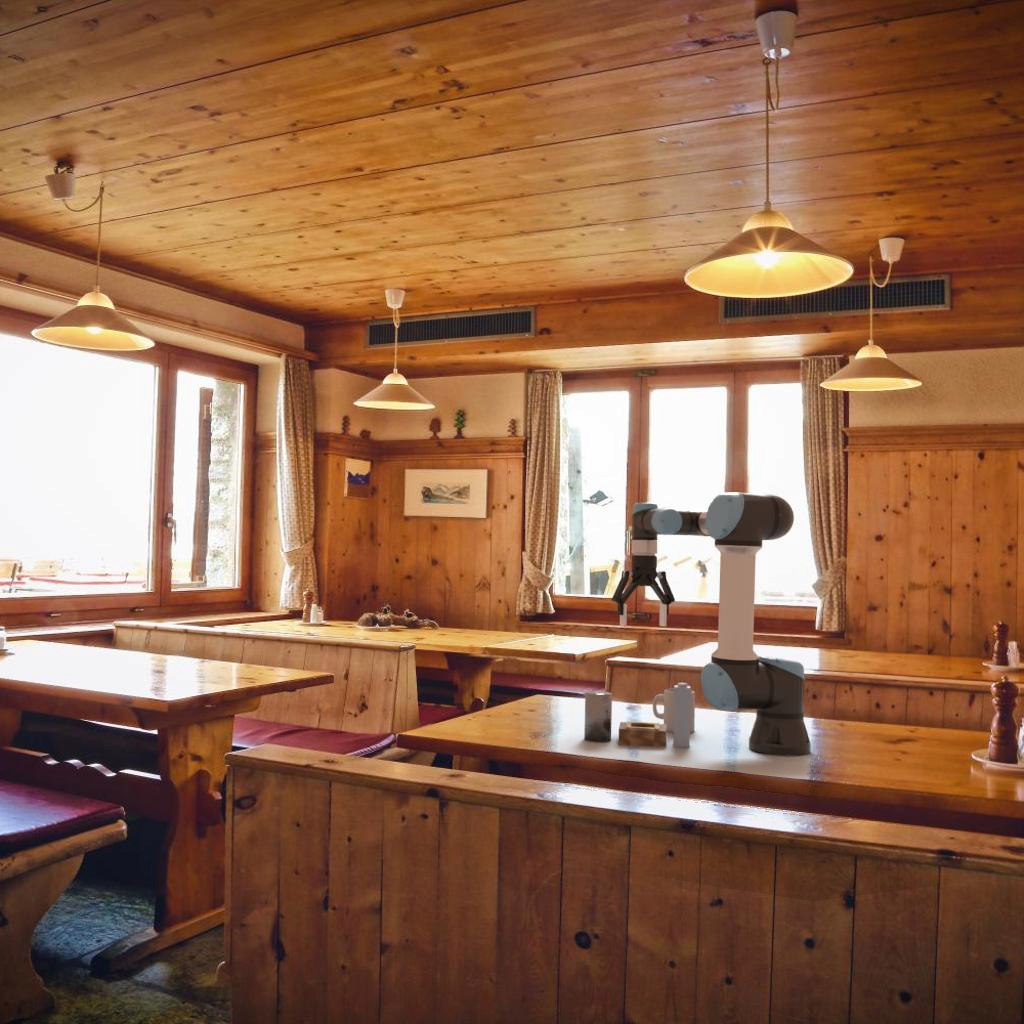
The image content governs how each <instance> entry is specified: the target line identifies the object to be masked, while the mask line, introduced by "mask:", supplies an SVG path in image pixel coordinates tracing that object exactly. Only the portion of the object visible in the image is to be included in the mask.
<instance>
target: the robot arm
mask: <svg viewBox="0 0 1024 1024" xmlns="http://www.w3.org/2000/svg"><path fill="white" fill-rule="evenodd" d="M658 506H659V505H658V504H657V503H655V502H654V503H653V502H636V503H634V504H633V506H632V514H631V553H632V554H633V555H632V556H631V571H630V570H622V572H621V578H620V580H619V582H618V585H617V587H615V590H614V591H615V592H614V593H613V595H612V598H611V602H614V603H616V605H617V615H619V627H623V628H624V627H625V628H627V618H628V617H627V616H628V614H627V611H628V604H627V603H626V602H627V601H628V599H629V598H630V596H631V595H632V594H633V592H635V590H636V589H637V588H638V587H650V588H651V589H652V590H653V592H654V593H655V595H656V596H657V598H658V599H659V601H660V602H661V603H660V604H659V621H658V622H659V626H660V627H667V616H668V615H669V614H670V613H669V612H670V610H669V609H670V607H669V606H670V605H671V604H672V603H674V602H675V601H676V599H675V597H674V595H673V592H672V589H671V587H670V584H669V582H668V579H667V572H666V571H665V570H663V571H662V570H659V571H657V567H658V556H657V555H656V554H658V535H661V536H662V535H664V536H670V535H671V536H696V537H697V536H699V537H710V538H712V539H713V540H714V547H715V548H716V549H717V551H719V553H720V558H719V559H720V561H719V562H720V563H719V564H720V565H719V567H720V568H719V595H718V597H719V599H718V626H717V627H718V629H717V630H718V631H717V647H716V650H715V651H713V652H712V653H711V658H710V659H711V661H710V662H709V663H706V665H704V666H703V669H702V670H701V675H700V684H701V689H702V693H703V695H704V697H705V699H706V701H707V702H708V704H709V705H710V706H711V707H712V708H714V709H715V710H718V711H730V712H735V711H748V710H749V711H750V710H756V712H755V713H756V716H755V720H754V723H753V726H752V729H751V733H750V736H749V739H748V748H749V749H750V750H752V751H754V752H758V753H763V754H766V755H767V754H768V755H774V756H775V755H776V756H804V755H807V754H808V755H809V754H810V753H811V751H812V750H811V749H812V748H811V747H812V745H811V741H810V738H809V733H808V730H807V727H806V724H805V718H804V717H805V710H804V709H805V707H804V706H805V681H806V679H805V668H804V666H803V664H802V663H801V662H799V661H795V660H791V659H784V658H776V657H770V656H763V655H758V654H757V653H756V652H755V651H754V630H755V629H754V628H755V626H754V625H755V595H756V593H755V591H756V589H755V588H756V558H757V557H756V556H757V553H758V552H759V551H760V550H761V549H762V548H763V541H773V540H778V539H781V538H783V537H784V536H786V535H788V533H789V532H790V531H791V529H792V527H793V525H794V522H795V515H794V511H793V508H792V507H791V505H790V504H789V502H788V501H787V500H786V499H784V498H783V497H781V496H778V495H775V494H767V493H765V494H764V493H763V494H762V493H750V492H749V493H747V492H736V491H734V492H723V493H720V494H718V495H716V496H715V497H714V498H713V500H712V501H711V502H710V503H709V505H708V508H707V509H679V508H671V507H662V508H659V507H658ZM630 578H632V579H631V581H630V582H629V580H630ZM656 579H658V581H659V583H658V581H657V580H656ZM628 582H629V583H628ZM627 584H629V585H627ZM659 585H660V586H661V587H660V586H659ZM625 603H626V604H625Z"/></svg>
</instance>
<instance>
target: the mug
mask: <svg viewBox="0 0 1024 1024" xmlns="http://www.w3.org/2000/svg"><path fill="white" fill-rule="evenodd" d="M695 699H696V691H694V690H693V689H690V734H691V733H694V732H695V723H696V722H695V721H696V720H695V717H696V716H695V714H696V713H695V709H696V706H695V705H696V704H695V702H696V700H695ZM659 700H660V701H663V712H662V713H660V712H658V709H657V704H658V701H659ZM652 712H653V713H652V714H653V715H654V717H655V718H657V719H660V720H663V724H666V732H668V733H674V688H666V689H664V691H663V693H661V694H657V695H655V696H654V698H653V701H652Z"/></svg>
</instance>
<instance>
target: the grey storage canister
mask: <svg viewBox="0 0 1024 1024" xmlns="http://www.w3.org/2000/svg"><path fill="white" fill-rule="evenodd" d="M584 694H585V695H584V736H583V737H584V738H583V739H584V740H585V741H586V742H591V743H592V742H593V743H608V742H611V741H612V718H613V717H612V716H613V715H612V712H613V711H612V710H613V709H612V706H613V693H611V692H608V691H607V692H606V691H597V690H595V691H586V692H585V693H584Z"/></svg>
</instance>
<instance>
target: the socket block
mask: <svg viewBox="0 0 1024 1024" xmlns="http://www.w3.org/2000/svg"><path fill="white" fill-rule="evenodd" d="M626 721H627V720H626ZM626 721H624V722H623V721H621V722H619V727H618V745H619V746H620V745H621V746H636V747H640V746H641V747H655V748H656V747H657V748H667V731H666V724H664V723H663V724H662V723H660V722H648V721H647V722H646V721H645V722H644V721H627V722H626Z"/></svg>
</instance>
